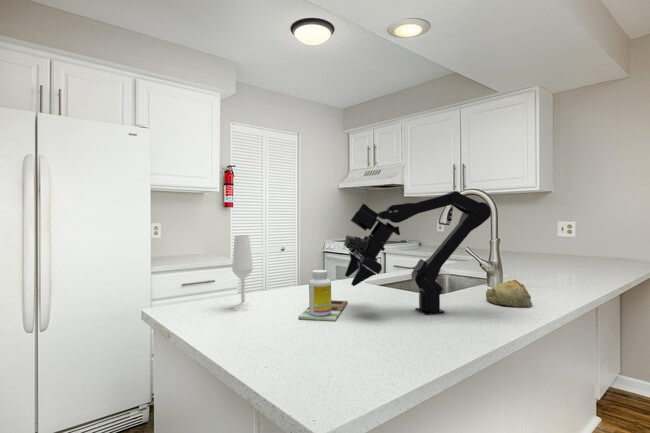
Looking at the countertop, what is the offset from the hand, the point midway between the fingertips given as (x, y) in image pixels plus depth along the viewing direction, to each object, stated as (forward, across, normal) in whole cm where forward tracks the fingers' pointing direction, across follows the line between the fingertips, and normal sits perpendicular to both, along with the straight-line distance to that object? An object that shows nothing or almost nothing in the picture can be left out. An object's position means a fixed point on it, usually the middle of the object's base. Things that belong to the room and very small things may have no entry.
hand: (349, 280), depth 115 cm
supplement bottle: (+13, +4, -3) cm, 14 cm away
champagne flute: (+28, -11, -21) cm, 37 cm away
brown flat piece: (+12, -2, 0) cm, 13 cm away
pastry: (-22, +1, +51) cm, 55 cm away
